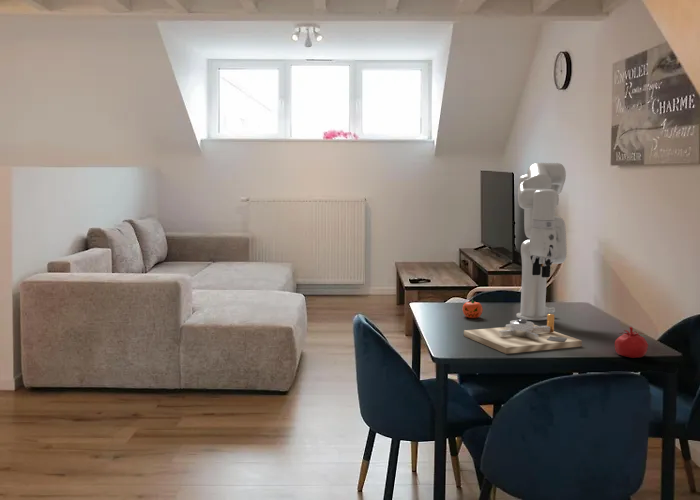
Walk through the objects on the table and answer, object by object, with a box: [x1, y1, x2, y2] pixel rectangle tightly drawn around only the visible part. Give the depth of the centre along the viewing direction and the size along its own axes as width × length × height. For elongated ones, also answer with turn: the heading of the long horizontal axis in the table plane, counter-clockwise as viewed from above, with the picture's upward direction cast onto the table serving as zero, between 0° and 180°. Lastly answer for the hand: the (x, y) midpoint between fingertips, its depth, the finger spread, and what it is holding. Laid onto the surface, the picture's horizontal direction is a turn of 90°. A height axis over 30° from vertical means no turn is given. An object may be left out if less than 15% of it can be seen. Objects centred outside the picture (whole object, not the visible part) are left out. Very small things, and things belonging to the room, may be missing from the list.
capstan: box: [499, 313, 555, 340], centre depth 245 cm, size 22×17×6 cm
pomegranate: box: [614, 326, 649, 359], centre depth 227 cm, size 10×10×9 cm
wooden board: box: [463, 324, 583, 355], centre depth 245 cm, size 30×26×2 cm
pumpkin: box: [462, 299, 483, 319], centre depth 283 cm, size 8×8×7 cm
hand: (541, 275), depth 253 cm, fingers open, 4 cm apart
